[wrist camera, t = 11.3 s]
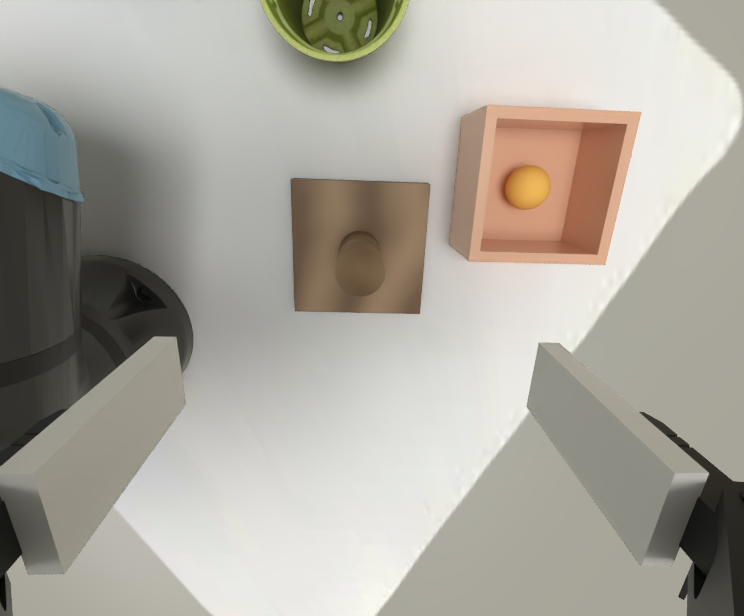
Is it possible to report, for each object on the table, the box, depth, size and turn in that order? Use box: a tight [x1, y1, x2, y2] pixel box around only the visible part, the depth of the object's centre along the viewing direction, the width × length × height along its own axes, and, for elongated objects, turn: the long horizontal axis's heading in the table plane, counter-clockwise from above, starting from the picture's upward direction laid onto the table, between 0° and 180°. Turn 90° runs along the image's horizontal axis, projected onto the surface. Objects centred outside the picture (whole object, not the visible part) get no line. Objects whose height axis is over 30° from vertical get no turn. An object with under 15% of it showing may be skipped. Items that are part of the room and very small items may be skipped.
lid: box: [291, 179, 430, 314], centre depth 33 cm, size 12×12×9 cm
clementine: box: [505, 165, 551, 210], centre depth 33 cm, size 4×4×4 cm
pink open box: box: [449, 105, 641, 265], centre depth 33 cm, size 11×11×7 cm
